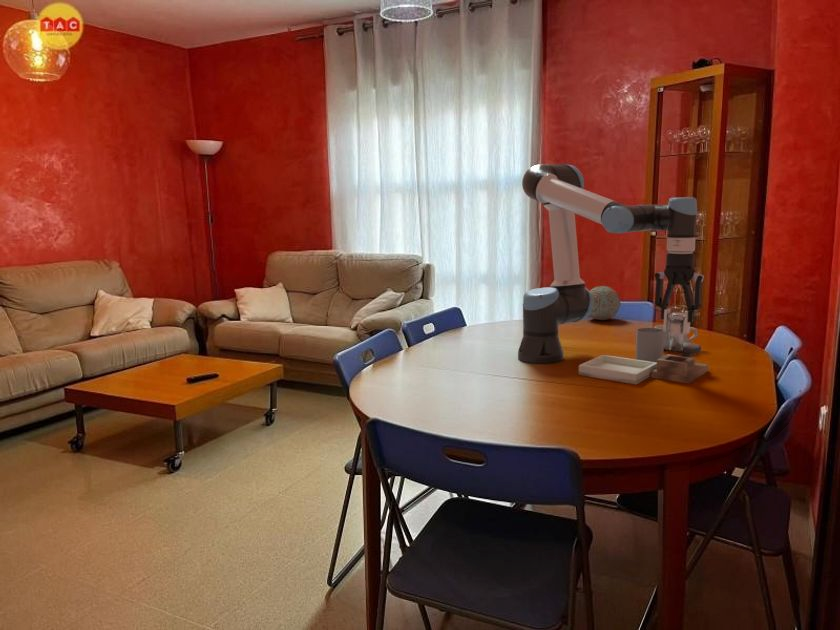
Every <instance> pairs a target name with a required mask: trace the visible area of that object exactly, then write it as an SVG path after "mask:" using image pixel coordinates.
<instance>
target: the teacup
mask: <svg viewBox="0 0 840 630" xmlns="http://www.w3.org/2000/svg"><path fill="white" fill-rule="evenodd" d="M654 328H659V329H662V330H663V328H664V324H662V325H661V324H660V325H655V326H654ZM690 331H693V332H694V333H693V335H692V336H691V337H689V338H688V334H689V333H687V334H684V338H683V343H690V342H691V341H692V340H694V339H695V338H696V337H697V336H698V330H697V328H696V327H692V326H690ZM668 343H669V330H668V331H666V332H665V331H664V350H667V351H670V350H669V349H668Z"/></svg>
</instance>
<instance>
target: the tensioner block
mask: <svg viewBox="0 0 840 630" xmlns="http://www.w3.org/2000/svg"><path fill="white" fill-rule="evenodd" d="M674 352H675V353H677V354H681V355H677V354H676V355H675V354H665V355H663V357H661V358H659V359H657V368H656V369H654V370H652V371H651V377H650V378H653V379H660V380H666V381H671V382H678V383H685V384H691V383H692V382H694V381H695V380H698V378H700V377H701V376H703V375H704V374H706V373H707V372H708V371H709V364H706V363H705V364H703V363H697V362H696V357H692V355H696V354H697V355H698V354H700V353H702V346H701V345H699V344H698V343H694V342H688V343H683V350H682V351H674ZM690 382H691V383H690Z"/></svg>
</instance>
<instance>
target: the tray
mask: <svg viewBox="0 0 840 630" xmlns="http://www.w3.org/2000/svg"><path fill="white" fill-rule="evenodd" d="M656 368H657V362H650V361H643V360H636V358H628V357H621V356H613V355H607V354H601V355H600V356H599V355H598V356H597V357H594V358H592V359H590V360H587V361H585V362H583V363H581V364H579V365H578V375H579V376H584V377H591V378H596V379H602V380H606V381H607V380H608V381H612V382H613V381H614V382H621V383H624V384H625V383H626V384H631V385H637V384H640V383H641V382H643V381H646V380H647V379H649V378H652V377H651V371H652V370H654V369H656Z"/></svg>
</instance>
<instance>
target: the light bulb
mask: <svg viewBox="0 0 840 630" xmlns="http://www.w3.org/2000/svg"><path fill="white" fill-rule="evenodd" d="M684 318H685V312H670V313H668V320H670V323H669V343H668V349H669V350H668V351H673V352H675V351H682V350H683V338H684Z"/></svg>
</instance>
